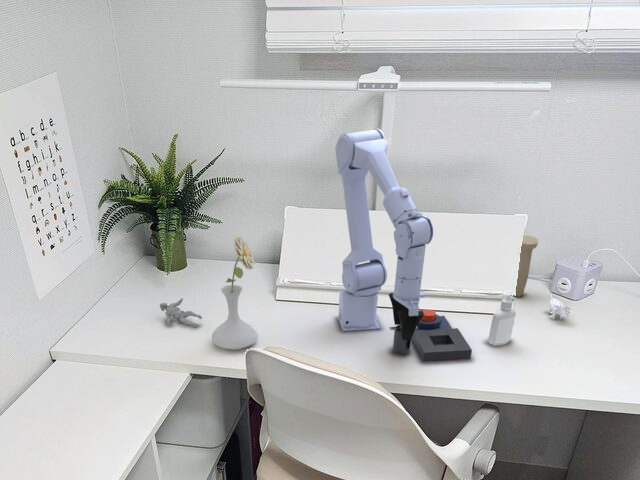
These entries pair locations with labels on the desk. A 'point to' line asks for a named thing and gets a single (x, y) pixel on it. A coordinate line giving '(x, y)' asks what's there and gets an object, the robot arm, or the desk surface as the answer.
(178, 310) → the soldier figure
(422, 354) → the square hole block
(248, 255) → the flower in vase
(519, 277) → the handle
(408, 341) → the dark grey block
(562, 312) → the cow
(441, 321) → the switch box
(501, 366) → the desk surface
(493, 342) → the eye dropper bottle
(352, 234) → the robot arm
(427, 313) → the stop button
